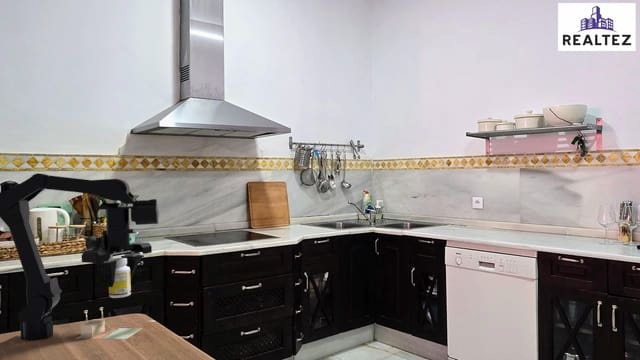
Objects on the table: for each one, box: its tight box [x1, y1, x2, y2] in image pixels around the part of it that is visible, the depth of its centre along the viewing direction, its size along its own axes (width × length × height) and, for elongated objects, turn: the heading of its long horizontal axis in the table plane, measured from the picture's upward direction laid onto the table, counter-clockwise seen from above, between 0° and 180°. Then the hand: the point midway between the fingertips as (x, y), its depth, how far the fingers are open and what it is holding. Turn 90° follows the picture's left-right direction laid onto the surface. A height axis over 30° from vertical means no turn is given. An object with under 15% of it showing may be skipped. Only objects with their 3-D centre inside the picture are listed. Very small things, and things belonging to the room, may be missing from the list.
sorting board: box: [75, 327, 143, 340], centre depth 124 cm, size 14×10×1 cm
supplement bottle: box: [108, 257, 132, 299], centre depth 127 cm, size 5×5×10 cm
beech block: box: [80, 319, 106, 338], centre depth 123 cm, size 6×3×3 cm, turn 176°
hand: (119, 284), depth 127 cm, fingers closed on supplement bottle, 5 cm apart
